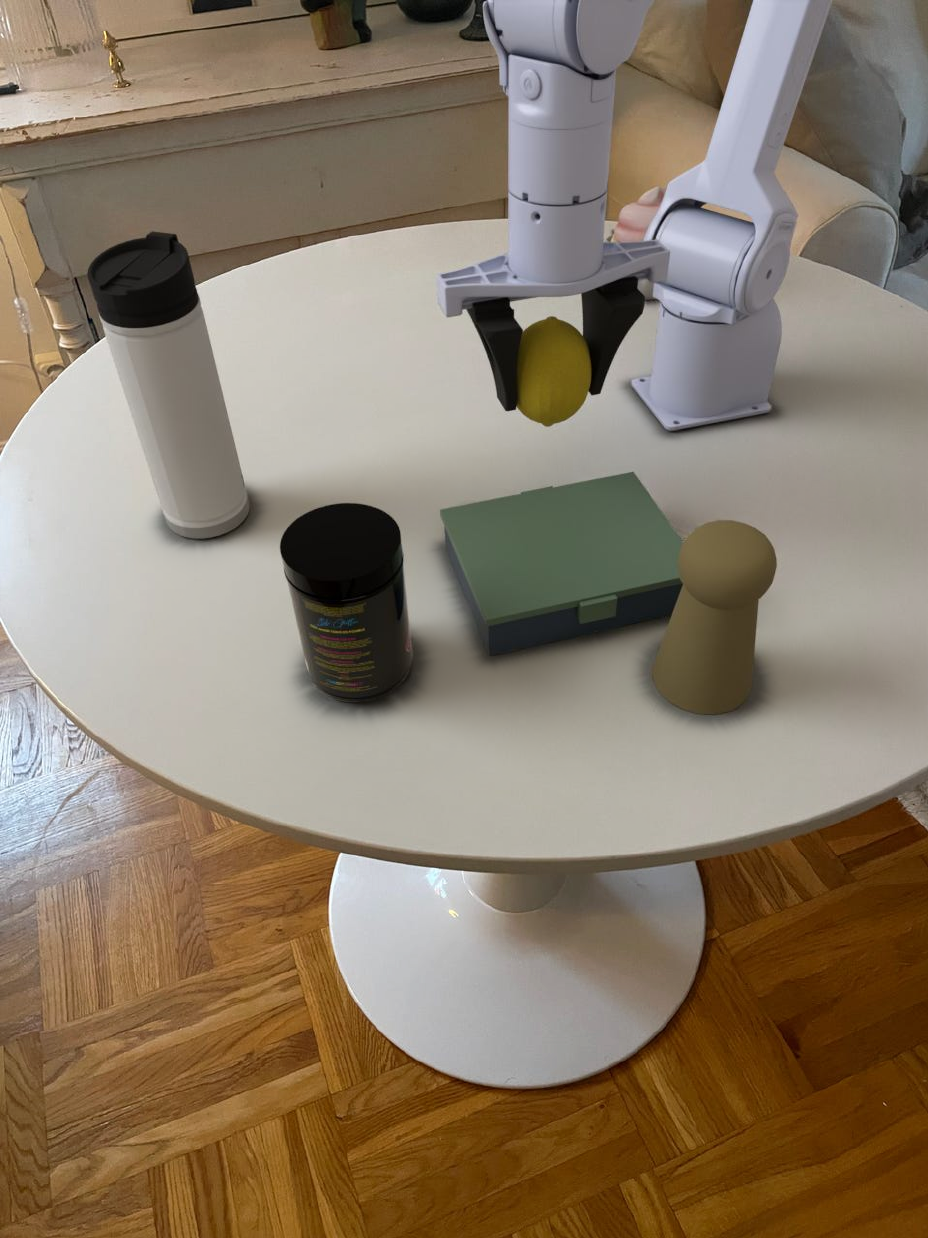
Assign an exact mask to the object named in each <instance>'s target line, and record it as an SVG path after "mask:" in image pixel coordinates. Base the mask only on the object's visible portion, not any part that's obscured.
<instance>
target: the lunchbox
mask: <svg viewBox="0 0 928 1238" xmlns="http://www.w3.org/2000/svg"><path fill="white" fill-rule="evenodd" d="M439 517H440V519H441V521H442V524H443V529H444V545H445V547H444V548H445V551H446V554H447V556H448V559H449V561H450V563H451V565H452V569H453V570H454V574H455V576H456V578H457V581H458V583H459V586H460V588H461V590H462V592H463V595H464V597H465V598H464V599H465V600H466V603H467V605H468V607H469V610H470V612H471V615H472V617H473V620H474V622H475V624H476V627H477V629H478V632H479V635H480V636H481V639H482V641H483V644H484V646H485V647H484V648H485V649H486V651H487V654H488V656H495V655H499V654H504V653H508V652H513V651H517V650H521V649H526V648H529V647H535V646H540V645H544V644H548V643H553V642H557V641H561V640H566V639H570V638H575V637H580V636H585V635H588V634H592V633H597V632H602V631H606V630H610V629H611V630H612V629H614V628H615V629H616V628H620V627H623V626H627V625H632V624H637V623H641V622H646V621H650V620H654V619H659V618H663V617H668V616H672V613H673V610H674V608H675V605H676V602H677V600H678V597H679V594H680V591H681V589H682V586H683V583H682V582H681V580H680V575H679V569H678V556H679V552H680V549H681V547H682V544H683V542H684V541H683V540H682V539H681V537H680V536H679V534H678V533H677V532H676V530H675V529H674V527H673V526H672V524H671V523H670V522H669V520H668V519H667V517H666V516H665V514H664V513H663V511H662V510H661V508H660V507H659V506H658V504H657V503H656V501H655V500H654V498H652V496H651V495H650V493H649V491H648V490H647V489H646V487H645V486H644V485H643V483H642V481H641V480H640V479H639V477H638V476H637V474H636V473H635V472H634V471H629V472H625V473H619V474H614V475H608V476H604V477H598V478H593V479H588V480H583V481H578V482H573V483H569V484H563V485H558V486H553V485H551V486H546V487H540V488H536V489H530V490H526V491H521V492H520V493H517V494H512V495H511V494H510V495H507V496H501V497H497V498H492V499H487V500H481V501H477V502H472V503H465V504H461V505H456V506H451V507H446V508H441V509H439Z"/></svg>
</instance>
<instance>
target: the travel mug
mask: <svg viewBox="0 0 928 1238" xmlns="http://www.w3.org/2000/svg"><path fill="white" fill-rule="evenodd" d="M86 275H87V276H86V277H87V280H88V284H89V286H90V289H91V292H92V296H93V299H94V301H95V303H96V307H97V311H98V317H99V320H100V323H101V324H102V329H103V333H104V336H105V339H106V341H107V345H108V348H109V351H110V353H111V357H112V361H113V363H114V366H115V369H116V372H117V375H118V378H119V381H120V384H121V387H122V391H123V394H124V396H125V400H126V403H127V406H128V409H129V412H130V415H131V418H132V422H133V424H134V428H135V430H136V433H137V436H138V439H139V442H140V446H141V449H142V452H143V455H144V458H145V461H146V464H147V467H148V470H149V473H150V477H151V479H152V483H153V485H154V488H155V489H154V490H155V491H156V495H157V498H158V501H159V504H160V507H161V510H162V513H163V516H164V519H165V522H166V525H167V526H168V528H169V529H170V530H171V531H172V532H174V533H175V534H176V535H179V536H181V537H184V538H186V539H187V538H188V539H195V540H196V539H199V540H200V539H201V540H203V539H209V538H214V537H219V536H222V535H225V534H227V533H228V532H229V533H230V532H231V531H233V530H235V529H236V528H237V527H238V526H240V525H241V524H242V523H243V522H244V521H245V519H246V518H247V516H248V514H249V511H250V504H251V503H250V500H249V496H248V493H247V492H248V491H247V488H246V484H245V480H244V475H243V471H242V467H241V463H240V459H239V455H238V451H237V446H236V443H235V438H234V434H233V430H232V426H231V422H230V417H229V414H228V409H227V405H226V401H225V397H224V393H223V392H224V391H223V388H222V384H221V380H220V376H219V372H218V367H217V363H216V360H215V359H216V358H215V355H214V351H213V347H212V343H211V339H210V335H209V331H208V326H207V322H206V319H205V314H204V310H203V308H202V301H201V298H200V295H199V293H198V289H197V287H196V285H195V284H196V281H195V277H194V272H193V268H192V264H191V261H190V256H189V253H188V250H187V248H186V247H185V246H184V245H183V244H182V243H181V242H179V238H178V236H177V234H176V233H171V232H161V231H153V230H152V231H150V232H149V233H147V234H145V237H140V238H134V239H129V240H126V241H123V242H121V243H117V244H115V245H113V246H110V247H109V248H107V249H106V250H104V251H102V252H101V253H99V255H97V256H96V257H95V258H94V259H93V260H92V261H91V262H90V264H89V267H88V269H87V273H86Z"/></svg>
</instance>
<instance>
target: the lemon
mask: <svg viewBox="0 0 928 1238" xmlns="http://www.w3.org/2000/svg"><path fill="white" fill-rule="evenodd" d="M591 376H592V368H591V359H590V354H589V350H588V346H587V343H586V341H585V339H584V337H583V333H581V331H579V330H578V328H577V327H575V326H574V325H573V324H571V323H569V322H567V321H565V320H563V319H559V318H558V317H557V316H553V315H552V316H551V315H549V316H548V317H546V318H544V319H541V320H540V319H539V320H537V321H535V322H533V323H532V324H530V325H529V326H527V327H525V329H523V332H522V336H521V341H520V346H519V353H518V361H517V406H516V409H517V410H519V412H520V413H521V414H522V415H523V416H524V417H526V418H527V419H529V420H530V421H533V422H536V423H537V424H540V425H542V426H544V427H546V428H548V427H552V426H554V425H555V424H559V423H562V422H564V421H565V422H566V421H567V420H568V419H570V418H571V417H573V416H574V415H576V414H577V413H578V412H579V411H580V409H581V408H582V406H583V405H584V404H585V402H586V400H587V397H588V393H589V387H590V383H591Z"/></svg>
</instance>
